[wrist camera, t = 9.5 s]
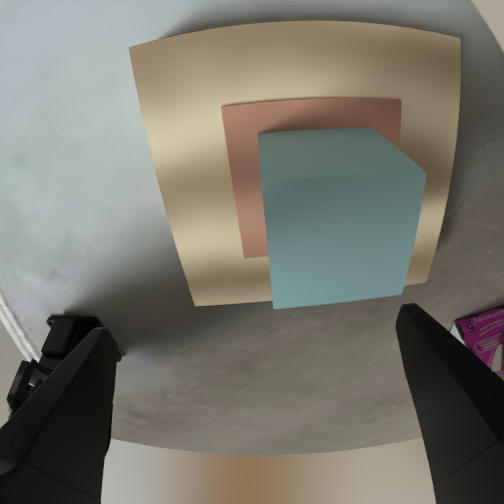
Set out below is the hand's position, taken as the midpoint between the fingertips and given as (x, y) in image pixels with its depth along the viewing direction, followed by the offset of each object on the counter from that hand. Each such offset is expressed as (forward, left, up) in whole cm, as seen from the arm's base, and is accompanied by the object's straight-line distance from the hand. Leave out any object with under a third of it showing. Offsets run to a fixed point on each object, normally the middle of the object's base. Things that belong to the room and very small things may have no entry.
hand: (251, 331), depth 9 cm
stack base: (0, -3, -12) cm, 12 cm away
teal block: (0, -3, -9) cm, 9 cm away
